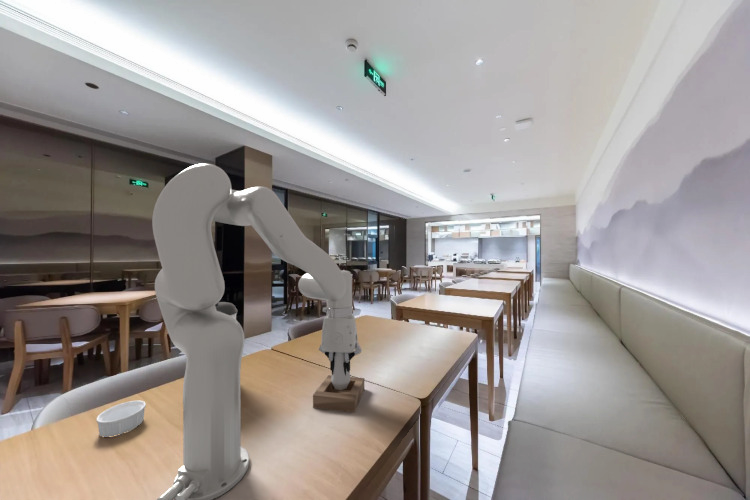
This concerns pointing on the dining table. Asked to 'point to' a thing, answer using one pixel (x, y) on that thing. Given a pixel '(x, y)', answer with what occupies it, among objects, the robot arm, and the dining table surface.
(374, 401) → the dining table surface
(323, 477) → the dining table surface
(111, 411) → the ramekin
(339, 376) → the salt shaker
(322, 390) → the socket block
